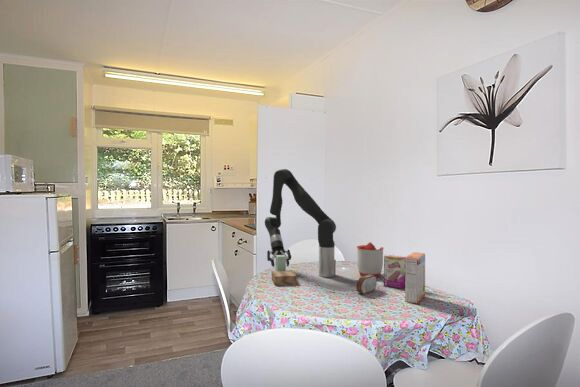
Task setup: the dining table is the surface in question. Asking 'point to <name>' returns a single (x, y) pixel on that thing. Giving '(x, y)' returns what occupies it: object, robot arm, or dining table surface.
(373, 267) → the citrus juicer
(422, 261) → the cracker box
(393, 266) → the candy bar box
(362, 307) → the dining table surface
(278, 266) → the green pillar
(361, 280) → the tin
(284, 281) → the wooden block
